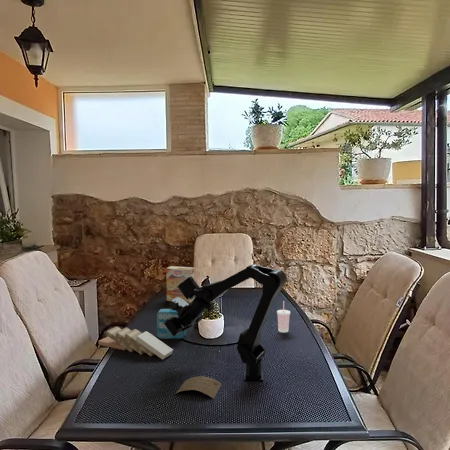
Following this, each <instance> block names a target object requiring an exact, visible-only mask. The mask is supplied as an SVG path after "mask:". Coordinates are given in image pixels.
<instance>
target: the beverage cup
mask: <svg viewBox="0 0 450 450" xmlns="http://www.w3.org/2000/svg"><path fill="white" fill-rule="evenodd" d="M282 307H283V308H282V309H278V310H276V314H277V329H278V332H279V333H288V332H289V327H290V315H291V310H288V309H285V300H283V302H282Z"/></svg>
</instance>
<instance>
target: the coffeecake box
mask: <svg viewBox="0 0 450 450" xmlns="http://www.w3.org/2000/svg"><path fill="white" fill-rule="evenodd" d="M165 272H166V274H165V275H166V301H168V302H171V301H172V299H174V298H177V297H180V298H181V299H183V300H184V301H186V302H187V303H188V304H190V303H191V302H192V301H193V300H194V299H195V297H194V298H193V299H191V300H190V298H189V299H188V300H187V299H186V298H185V296H184V295H183V294H182V293H181V291H180V290H179V289H178V288H177V287H178V285H179V284H180V283H182V282H183V281H184V280H186V279H187V278H188V277H191V276H192V278H193V279H194V280H195V267H191V266H190V267H189V266H176V265H175V266H174V265H170V266H168V267H166V268H165Z"/></svg>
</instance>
